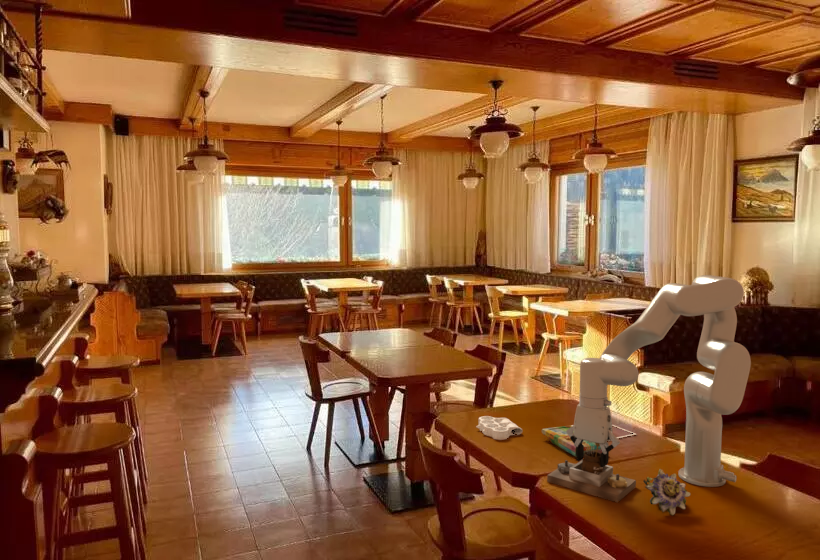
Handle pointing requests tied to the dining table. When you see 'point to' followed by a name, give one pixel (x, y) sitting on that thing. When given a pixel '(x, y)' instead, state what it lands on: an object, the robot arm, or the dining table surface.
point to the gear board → (592, 481)
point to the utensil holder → (592, 461)
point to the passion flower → (667, 492)
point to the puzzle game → (567, 440)
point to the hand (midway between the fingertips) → (591, 462)
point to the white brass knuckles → (498, 427)
